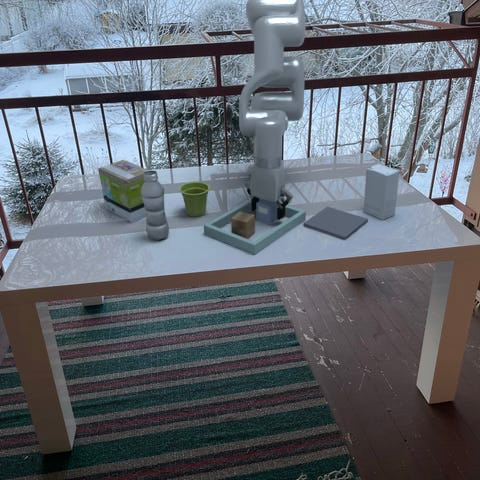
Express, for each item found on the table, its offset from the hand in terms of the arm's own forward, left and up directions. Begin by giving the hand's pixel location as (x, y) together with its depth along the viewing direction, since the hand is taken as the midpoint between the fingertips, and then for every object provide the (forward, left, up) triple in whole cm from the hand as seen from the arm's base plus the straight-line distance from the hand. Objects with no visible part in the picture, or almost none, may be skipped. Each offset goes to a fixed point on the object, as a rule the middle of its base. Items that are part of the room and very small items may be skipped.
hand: (267, 213), depth 145 cm
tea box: (-39, -22, -2) cm, 45 cm away
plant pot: (-21, -10, -2) cm, 23 cm away
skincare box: (+25, +24, -2) cm, 35 cm away
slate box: (0, 0, -2) cm, 2 cm away
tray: (0, -6, -2) cm, 6 cm away
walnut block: (0, -12, -2) cm, 12 cm away
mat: (+18, +10, -2) cm, 21 cm away
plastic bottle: (-19, -28, -2) cm, 34 cm away
